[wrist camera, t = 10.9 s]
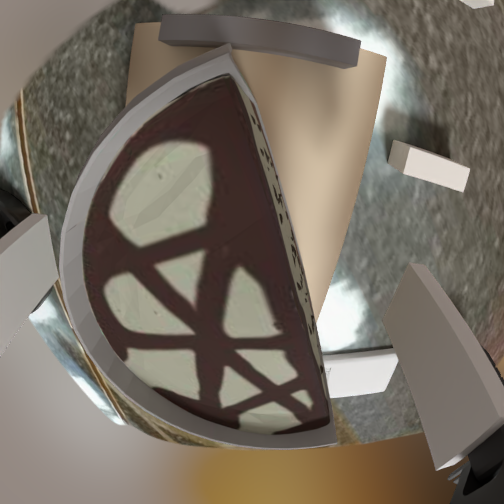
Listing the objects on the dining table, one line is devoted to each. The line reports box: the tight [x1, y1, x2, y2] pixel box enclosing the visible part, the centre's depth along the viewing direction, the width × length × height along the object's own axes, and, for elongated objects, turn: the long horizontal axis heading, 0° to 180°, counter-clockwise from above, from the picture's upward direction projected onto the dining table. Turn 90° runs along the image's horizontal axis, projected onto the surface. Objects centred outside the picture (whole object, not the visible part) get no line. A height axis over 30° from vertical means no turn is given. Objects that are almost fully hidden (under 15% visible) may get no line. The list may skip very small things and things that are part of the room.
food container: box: [59, 43, 337, 450], centre depth 11 cm, size 12×6×10 cm, turn 17°
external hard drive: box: [322, 348, 399, 398], centre depth 34 cm, size 2×8×12 cm
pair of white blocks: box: [388, 0, 494, 192], centre depth 16 cm, size 6×19×3 cm, turn 172°
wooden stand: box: [126, 14, 387, 322], centre depth 18 cm, size 12×18×10 cm, turn 172°
